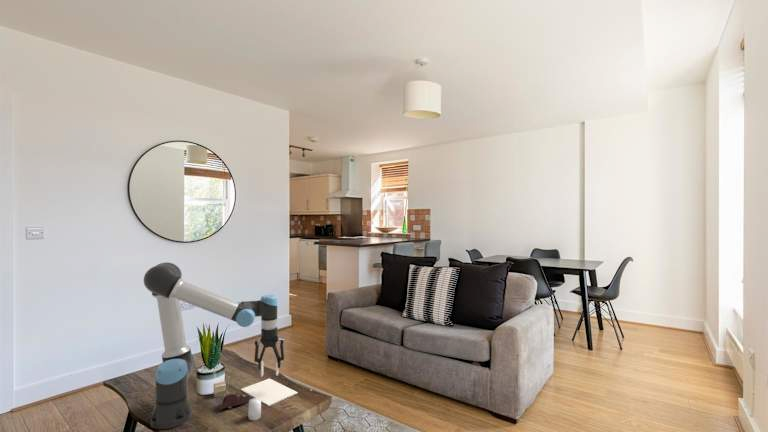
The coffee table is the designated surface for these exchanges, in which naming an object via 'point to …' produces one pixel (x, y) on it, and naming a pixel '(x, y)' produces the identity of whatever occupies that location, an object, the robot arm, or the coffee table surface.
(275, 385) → the cream mat
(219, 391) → the beech block
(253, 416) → the white cylinder
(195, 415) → the coffee table surface
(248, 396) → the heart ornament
